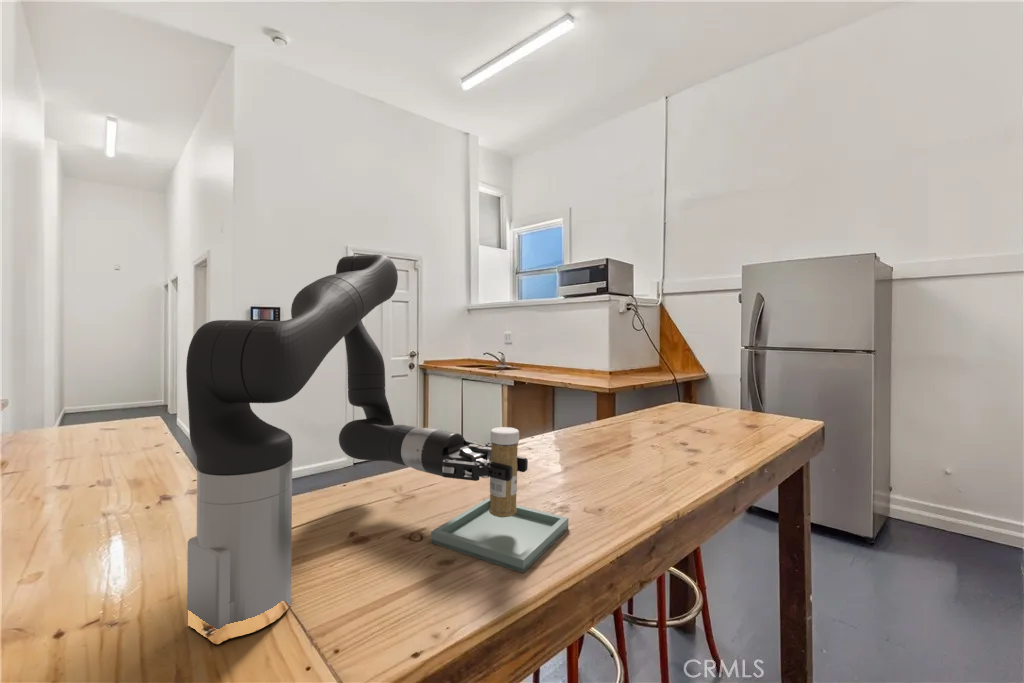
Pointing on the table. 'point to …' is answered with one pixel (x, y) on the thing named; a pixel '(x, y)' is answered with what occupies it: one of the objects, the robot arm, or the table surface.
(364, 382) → the robot arm
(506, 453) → the spice jar
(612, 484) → the table surface
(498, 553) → the tray
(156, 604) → the table surface
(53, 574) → the table surface
